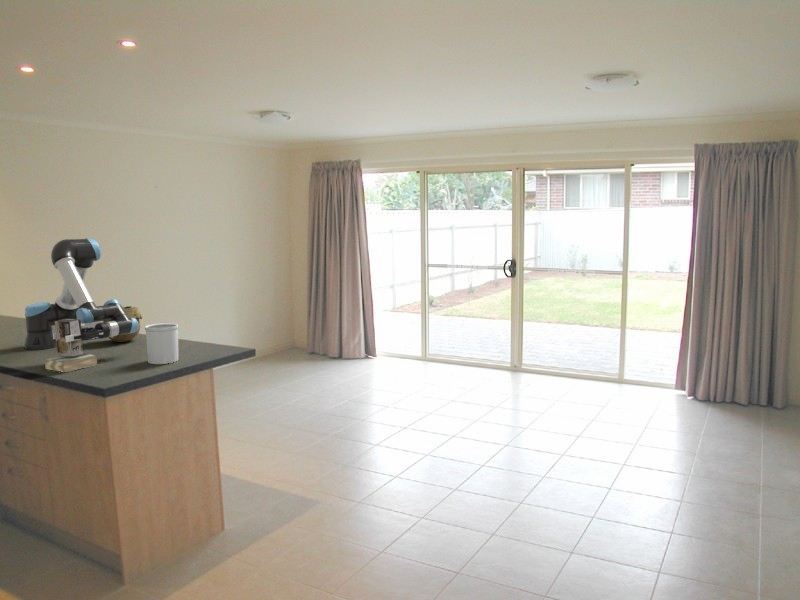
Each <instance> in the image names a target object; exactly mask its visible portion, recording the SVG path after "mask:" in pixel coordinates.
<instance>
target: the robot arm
mask: <svg viewBox="0 0 800 600" xmlns="http://www.w3.org/2000/svg"><path fill="white" fill-rule="evenodd" d="M101 256H102V251H101V246H100V245H99V243H98V242H97V240H95V239H94V238H76V239H75V238H71V239H70V238H67V239H61V240H59V241H58V242H56V243H55V244H54V245H53V247H52V250H51V254H50V258H51V263H52V265H53V267H54V269H55V270H58V271H59V274H60V276H61V278H62V280H63V282H64V284H63V287H62V290H61V293H60V296H58V297H57V298H56V299H55V302H54V303H50V302H49V301H41V302H35V303H31V304H28V305H27V306H25V311H24V316H25V327H26V336H25V339H24V340H25V341H24V342H23V347H24V348H25V349H24V348H23V349H24V350H27V349H28V350H29V351H38V350H48V349H53V348H57V339H56V332H53V326H55V321H58V320H62V319H79V320H81V325H82V324H84V325H85V323H92V322H98V321H106V320H111V321H109V322H103V323H97V324H96V326H95V328H93V327H91V328H85V327H83V328H82V327H81V334H74V335H68V336H65V339H66V342H70V341H76V340H81V339H82V341H83V340H86V341H87V340H93V339H92V338H96V337H98V338H96V339H100V340H101V339H105V338H108V337H112V338H113V337H114V336H118V335H124V334H130V333H134V332H136V331H137V330H138V321H137V320H136V319H135V318H129V317H128V315H127V314H126V313H125V311H124V309H123V307H124V306H123V305H122V304H121V302H120V301H119V300H118V299H114V298H111V299H109V300H107V301H105V302H104V304H103V305H96V303H95V302H94V299H93V298H92V296H91V295H92V294H91V293H90V291H89V289H88V288H87V286H86V284H85V279H86V277H87V274H88V273H87V272H88V269H90V268H92V266H93V264H94V262H97V261H99V260H100V259H101ZM28 350H27V351H28Z"/></svg>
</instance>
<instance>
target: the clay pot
mask: <svg viewBox="0 0 800 600" xmlns="http://www.w3.org/2000/svg"><path fill="white" fill-rule="evenodd" d="M122 307H123V309H124V311H125V313H126V314H127V315H128V317H129V318H135V319H136V320H137V321H138V330H137V331H136V332H134V333H130V334H124V335H118V336H114V337H113V338H112V337H107V338H108V339H109V340H111V341H113V342H117V343H124V342H125V343H126V342H128V341H131V340H133V339H135V338H136V337H137V336H138V334H139V333H140V332H141V331H140V330H141V322H140V321H141V320H142V319H143V315H142V314H141V311H139V307H138V306H131V305H128V306H122ZM109 321H111V320H106V321H103V322H109Z"/></svg>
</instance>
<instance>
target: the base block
mask: <svg viewBox="0 0 800 600" xmlns="http://www.w3.org/2000/svg"><path fill="white" fill-rule="evenodd" d="M95 365H97V366H98V357H97V355H95V354H91V353H89V354H88V353H84V352H83V354H80V355H76V356H63V355H57V356H54V357H49V358H45V359H44V366H45V367H44V368H45V370H46V369H50V370H56V371H61V372H67V371H72V370H77V369H81V368H85V369H87V368H86V367H89V368H91V367H90V366H94V367H96V366H95ZM50 370H49V371H50ZM81 370H82V369H81ZM77 371H78V370H77Z"/></svg>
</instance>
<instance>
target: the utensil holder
mask: <svg viewBox="0 0 800 600" xmlns="http://www.w3.org/2000/svg"><path fill="white" fill-rule="evenodd" d="M144 330H145V337H146V351H147V362H148V364H150V365H166V364H168V363H169V364H173V362H174V363H177V362H178V361H179V324H178V323H169V322H168V323H167V322H165V323H162V322H161V323H153V324H148V325H145V326H144ZM176 361H177V362H176Z"/></svg>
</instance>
